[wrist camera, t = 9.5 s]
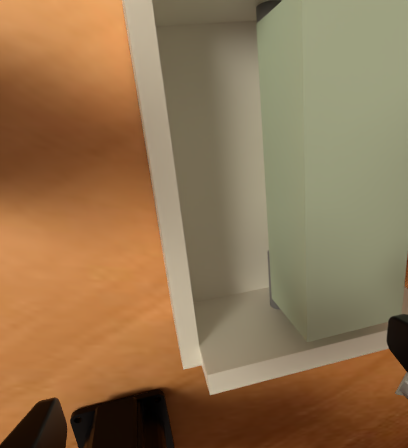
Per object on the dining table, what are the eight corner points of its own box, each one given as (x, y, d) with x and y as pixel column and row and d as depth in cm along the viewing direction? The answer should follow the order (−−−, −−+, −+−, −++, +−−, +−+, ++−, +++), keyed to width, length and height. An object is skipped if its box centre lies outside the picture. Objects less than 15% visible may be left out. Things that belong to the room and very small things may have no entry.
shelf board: (348, 280, 19) (401, 318, 15) (271, 298, 18) (307, 342, 14) (357, 16, 14) (434, -25, 11) (256, 24, 14) (301, -18, 10)
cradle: (360, 275, 23) (448, 332, 17) (173, 316, 21) (189, 400, 14) (376, -7, 18) (519, -88, 11) (122, 6, 15) (111, -88, 9)
